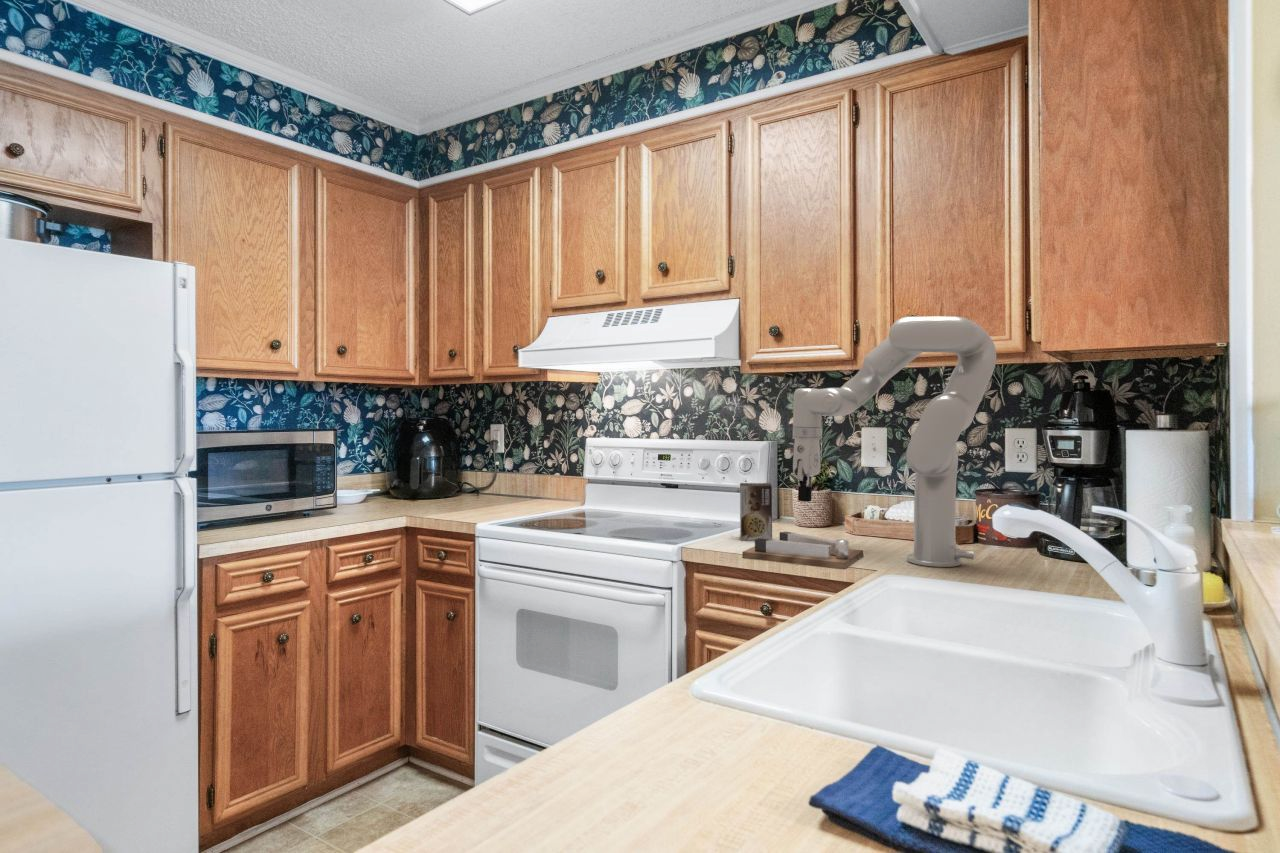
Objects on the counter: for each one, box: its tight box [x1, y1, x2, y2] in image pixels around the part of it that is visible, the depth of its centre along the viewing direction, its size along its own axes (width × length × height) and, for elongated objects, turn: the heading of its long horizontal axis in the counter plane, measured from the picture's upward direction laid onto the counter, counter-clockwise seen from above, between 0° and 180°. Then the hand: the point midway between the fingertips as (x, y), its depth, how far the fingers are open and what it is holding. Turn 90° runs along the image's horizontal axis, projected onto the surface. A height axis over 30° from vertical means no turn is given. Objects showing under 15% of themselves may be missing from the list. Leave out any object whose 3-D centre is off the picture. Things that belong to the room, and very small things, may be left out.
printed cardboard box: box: [739, 482, 773, 542], centre depth 217 cm, size 9×6×16 cm
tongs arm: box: [779, 531, 836, 555], centre depth 193 cm, size 19×2×3 cm, turn 35°
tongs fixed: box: [754, 538, 849, 560], centre depth 187 cm, size 23×4×4 cm, turn 60°
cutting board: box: [741, 546, 864, 570], centre depth 191 cm, size 26×18×2 cm
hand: (804, 500), depth 203 cm, fingers closed
